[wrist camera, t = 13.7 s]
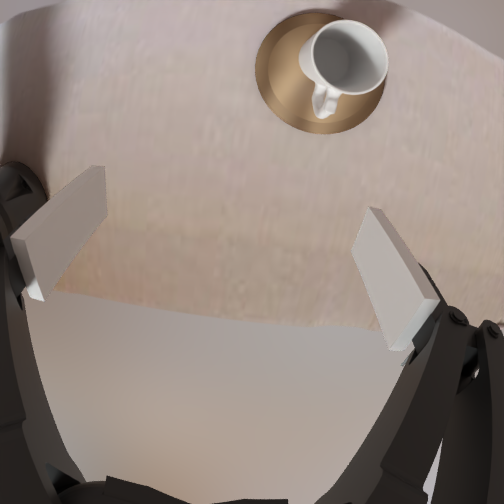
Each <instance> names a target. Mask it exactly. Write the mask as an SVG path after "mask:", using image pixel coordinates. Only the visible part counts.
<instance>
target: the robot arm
mask: <svg viewBox="0 0 504 504" xmlns="http://www.w3.org/2000/svg"><path fill="white" fill-rule="evenodd" d="M107 215H108V213H107V199H106V181H105V166H93V165H92V166H91V167H89V168H88V169H87V170H85V171H84V172H83V173H82V174H80V175H79V176H78V177H76V178H75V179H74V180H73V181H71V182H70V183H69V184H68V185H67V186H65V187H64V188H63V189H62V190H60V191H59V192H58V193H57V194H56V195H55V196H53V197H52V198H51V199H50V200H49V201H48V202H47V198H46V195H45V192H44V189H43V187H42V185H41V183H40V181H39V180H38V178H37V177H36V175H35V174H34V173H33V172H32V171H31V170H30V169H29V168H28V167H27V166H25V165H23V164H21V163H19V162H9V163H7V164H5V165H3V166H2V167H0V504H190V503H187V502H185V501H182V500H179V499H177V498H174V497H172V496H169V495H167V494H164V493H162V492H160V491H158V490H155V489H153V488H151V487H149V486H144V485H140V484H136V483H132V482H128V481H124V480H120V479H117V478H114V477H110V476H107V477H106V481H92V482H86V481H85V479H84V477H83V475H82V473H81V472H80V470H79V468H78V467H77V465H76V464H75V463H74V461H73V460H72V459H71V457H70V456H69V454H68V452H67V451H66V448H65V446H64V443H63V441H62V439H61V436H60V434H59V431H58V429H57V426H56V424H55V421H54V418H53V415H52V413H51V410H50V407H49V404H48V401H47V398H46V395H45V392H44V389H43V385H42V382H41V379H40V375H39V371H38V367H37V364H36V360H35V356H34V351H33V347H32V343H31V338H30V333H29V328H28V322H27V316H26V310H25V304H24V298H23V296H22V293H21V292H22V291H23V289H24V288H25V286H26V288H27V290H28V293H29V295H30V297H31V298H34V299H37V300H41V301H44V302H45V300H46V299H47V297H48V296H49V294H50V293H51V291H52V290H53V288H54V287H55V285H56V284H57V282H58V281H59V279H60V278H61V276H62V275H63V273H64V272H65V270H66V269H67V268H68V266H69V265H70V263H71V262H72V261H73V259H74V258H75V256H76V255H77V254H78V252H79V251H80V250H81V248H82V247H83V246H84V244H85V243H86V242H87V240H88V239H89V238H90V237H91V235H92V234H93V233H94V231H95V230H96V229H97V228H98V226H99V225H100V224H101V223H102V221H103V220H104V219H105V218H106V217H107ZM351 253H352V255H353V258H354V260H355V262H356V265H357V267H358V270H359V272H360V274H361V277H362V279H363V282H364V284H365V287H366V289H367V292H368V295H369V297H370V300H371V302H372V305H373V308H374V310H375V313H376V316H377V318H378V321H379V324H380V327H381V330H382V332H383V335H384V338H385V341H386V344H387V347H388V350H389V351H390V350H391V351H401V350H402V351H404V350H405V349H406V347H407V346H408V345H409V344H410V342H411V341H412V342H413V344H414V347H415V348H414V350H413V351H412V352H411V353H410V355H409V356H408V357H407V358H406V359H405V361H404V362H403V363H402V364H401V366H404V365H405V366H404V368H403V371H402V373H401V375H400V377H399V379H398V381H397V383H396V385H395V387H394V389H393V391H392V393H391V395H390V397H389V399H388V401H387V403H386V404H385V406H384V408H383V410H382V412H381V413H380V415H379V417H378V419H377V420H376V422H375V424H374V426H373V427H372V429H371V431H370V432H369V434H368V435H367V437H366V439H365V440H364V442H363V444H362V445H361V447H360V448H359V450H358V452H357V453H356V455H355V456H354V457H353V459H352V460H351V462H350V463H349V465H348V466H347V468H346V469H345V470H344V472H343V473H342V475H341V476H340V477H339V479H338V480H337V482H336V483H335V484H334V486H333V487H332V488H331V489H330V490H329V491H328V492H327V493H325V495H323V496H322V497H321V498H320V499H319V500H317V501H316V503H315V504H427V501H428V494H427V493H425V492H424V491H423V485H424V482H425V480H426V478H427V475H428V473H429V471H430V468H431V466H432V464H433V462H434V459H435V457H436V454H437V451H438V449H439V446H440V443H441V441H442V447H441V455H440V461H439V467H438V472H437V477H436V483H435V487H434V492H433V496H432V500H431V504H504V336H503V334H502V331H501V330H500V328H499V326H498V325H497V324H496V323H493V322H492V321H490V320H484V321H483V322H482V324H481V325H480V326H479V328H477V327H474V326H471V325H469V321H468V319H467V317H466V316H465V315H464V313H463V312H461V311H460V310H459V309H457V308H455V307H453V306H448V305H447V303H446V302H445V300H444V298H443V296H442V295H441V293H440V291H439V290H438V288H437V287H436V285H435V283H434V281H433V280H432V278H431V277H430V275H429V273H428V272H427V270H426V269H425V268H424V267H423V266H421V265H420V264H419V263H418V262H417V261H416V259H415V258H414V256H413V254H412V253H411V251H410V250H409V248H408V247H407V245H406V244H405V242H404V241H403V239H402V238H401V237H400V235H399V234H398V232H397V231H396V229H395V228H394V226H393V225H392V224H391V222H390V221H389V219H388V218H387V217H386V215H385V214H384V213H383V211H382V210H381V209H377V208H373V207H369V206H368V209H367V211H366V214H365V217H364V219H363V222H362V224H361V227H360V230H359V232H358V235H357V237H356V240H355V242H354V245H353V247H352V250H351ZM478 369H479V372H478V375H477V377H476V378H475V372H476V371H477V370H478ZM442 438H443V440H442ZM214 504H288V499H267V500H265V499H241V500H235V501H229V502H222V503H214Z"/></svg>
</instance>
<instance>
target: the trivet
mask: <svg viewBox="0 0 504 504" xmlns="http://www.w3.org/2000/svg"><path fill="white" fill-rule="evenodd" d="M337 20H345V19H343V18H340V17H337V16H334V15H330V14H323V13H308V14H301V15H297V16H294V17H291V18H289V19H287V20H285V21H283V22H281V23H280V24H278V25H277V26H276V27H275V28H273V29H272V30H271V31H270V33H269V34H268V35H267V36H266V37H265V39H264V40H263V42H262V44H261V46H260V48H259V51H258V54H257V57H256V64H255V75H256V81H257V85H258V89H259V91H260V93H261V96H262V98H263V99H264V101H265V103H266V104H267V105H268V107H269V108H270V109H271V111H272V112H273V113H275V114H276V115H277V116H278V117H279V118H280V119H281V120H283V121H284V122H286V123H287V124H289V125H291V126H293V127H295V128H297V129H299V130H302V131H305V132H310V133H315V134H334V133H340V132H343V131H346V130H349V129H351V128H353V127H355V126H357V125H359V124H360V123H362V122H363V121H364V120H365V119H367V118H368V117H369V115H370V114H371V113H372V112H373V111H374V109H375V108H376V106H377V105H378V103H379V101H380V98H381V96H382V93H383V88H384V80H383V81H382V83H381V84H380V85H379V86H378V87H376V88H375V89H374V90H372V91H370V92H367V93H364V94H359V95H349V94H344V93H342V94H341V95H340V97H339V99H338V102H337V108H336V112H335V113H334V114H331V115H329V116H328V117H327V118H324V119H320V118H318V117H316V115H315V113H314V109H313V104H312V95H313V92H314V89H315V82H314V81H312V80H311V79H309V78H308V77H307V76H306V75H305V74H304V73H303V71H302V69H301V67H300V65H299V52H300V49H301V47H302V46H303V45H304V44H305V42H306V41H307V40H308V39H310V38H311V37H312V36H313V35H314V34H315V33H316V32H317V31H319V30H320V29H321V28H322V27H324V26H325V25H327V24H329V23H331V22H334V21H337ZM384 79H385V78H384ZM326 93H327V92H326ZM325 98H326V95H325ZM325 98H324V101H325Z"/></svg>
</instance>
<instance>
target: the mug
mask: <svg viewBox="0 0 504 504" xmlns="http://www.w3.org/2000/svg"><path fill="white" fill-rule="evenodd" d="M299 65H300V67H301V69H302V71H303V73H304V74H305V75H306V76H307V77H308V78H309V79H311V80H312V81H314V82H315V89H314V92H313V95H312V104H313V109H314V113H315V115H316V117H318V118H320V119H324V118H327V117H328V116H329V115H331V114H334V113H335V112H336V108H337V102H338V99H339V97H340V95H341V94H342V93H344V94H349V95H359V94H364V93H367V92H370V91H372V90H374V89H375V88H376V87H378V86H379V85H380V84H381V83H382V81H383V80H384V78H385V76H386V74H387V71H388V67H389V57H388V52H387V49H386V46H385V44H384V42H383V41H382V39H381V38H380V36H379V35H378V34H377V33H376V32H375V31H374V30H373V29H371V28H370V27H369V26H367V25H365V24H363V23H361V22H358V21H354V20H337V21H334V22H331V23H329V24H327V25H325V26H324V27H322V28H321V29H320V30H319V31H317V32H316V33H315V34H314V35H313V36H312V37H311V38H310V39H308V40H307V41H306V42H305V44H304V45H303V46H302V47H301V49H300V52H299ZM326 92H327V93H326ZM325 95H326V98H325ZM324 98H325V101H324Z"/></svg>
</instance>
